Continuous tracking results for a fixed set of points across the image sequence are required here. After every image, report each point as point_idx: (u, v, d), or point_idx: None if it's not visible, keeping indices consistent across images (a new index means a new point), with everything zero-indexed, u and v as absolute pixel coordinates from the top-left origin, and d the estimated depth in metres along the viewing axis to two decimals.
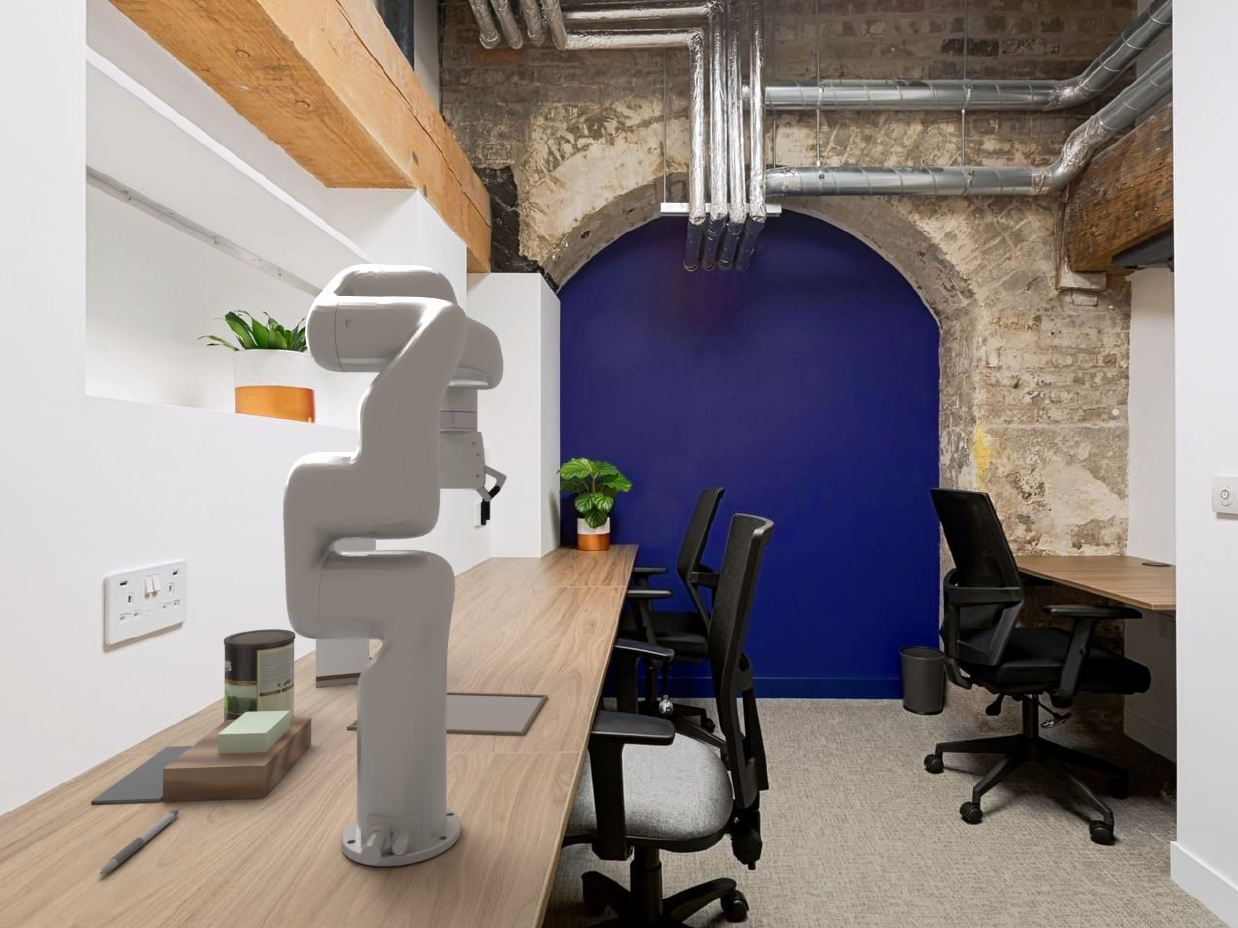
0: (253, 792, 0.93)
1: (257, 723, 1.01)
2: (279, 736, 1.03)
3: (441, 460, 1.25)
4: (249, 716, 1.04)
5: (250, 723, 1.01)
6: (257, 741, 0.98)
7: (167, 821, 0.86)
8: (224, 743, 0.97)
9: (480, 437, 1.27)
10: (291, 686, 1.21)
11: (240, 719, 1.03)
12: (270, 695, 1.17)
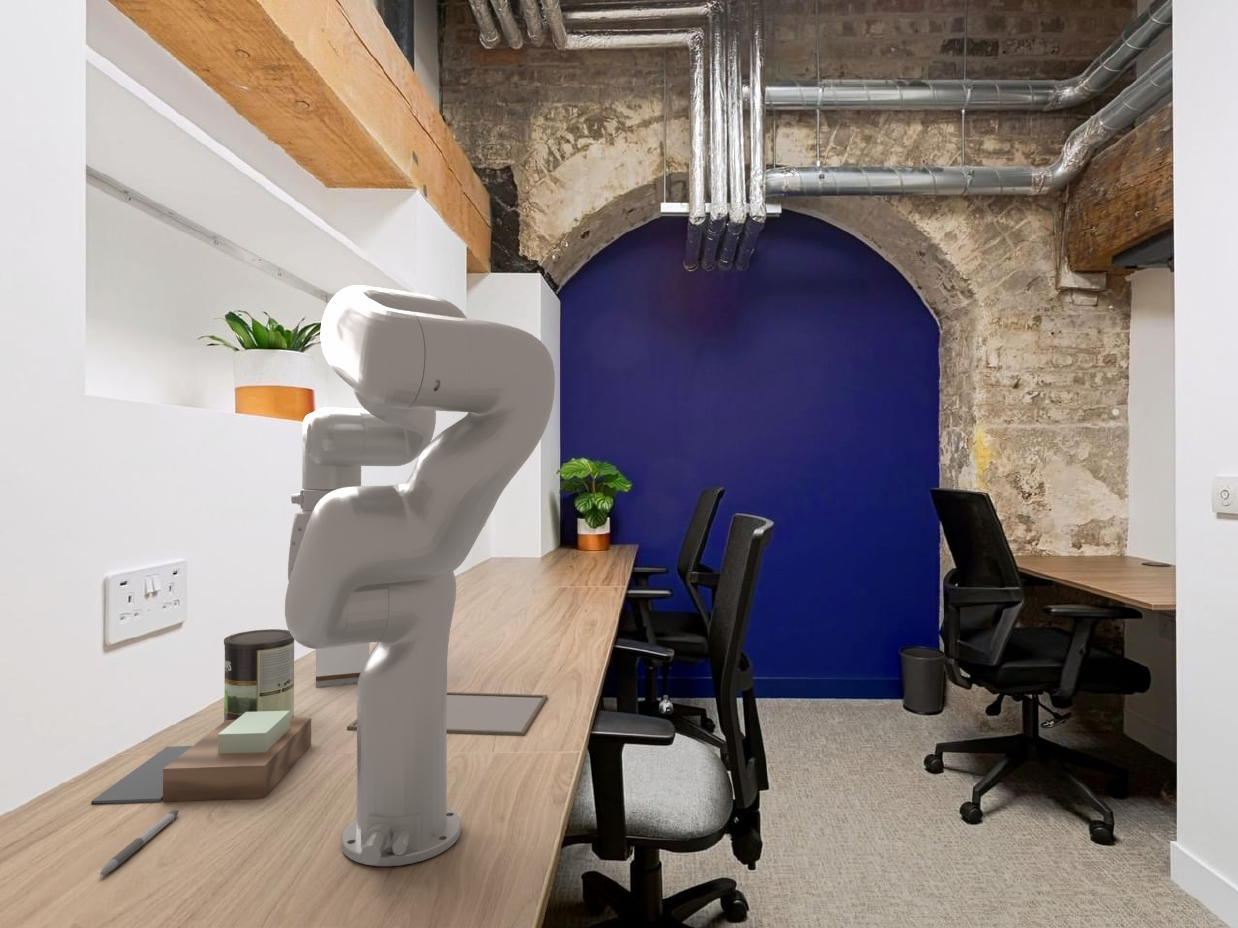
0: (253, 792, 0.93)
1: (257, 723, 1.01)
2: (279, 736, 1.03)
3: None
4: (249, 716, 1.04)
5: (250, 723, 1.01)
6: (257, 741, 0.98)
7: (167, 821, 0.86)
8: (224, 743, 0.97)
9: None
10: (291, 686, 1.21)
11: (240, 719, 1.03)
12: (270, 695, 1.17)
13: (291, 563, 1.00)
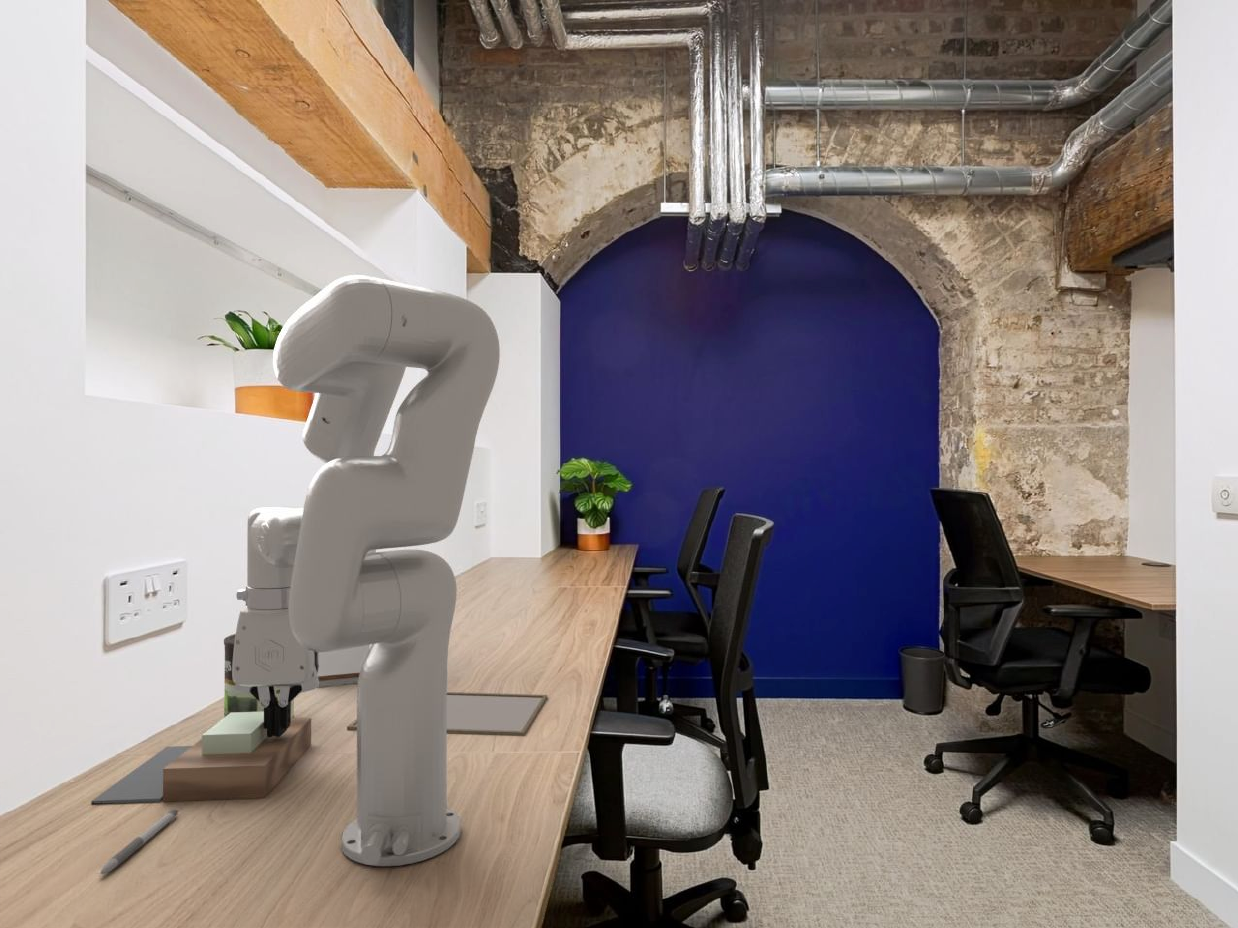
0: (253, 792, 0.93)
1: (242, 724, 1.01)
2: (264, 736, 1.03)
3: (255, 649, 0.99)
4: (234, 716, 1.04)
5: (235, 724, 1.01)
6: (242, 742, 0.97)
7: (166, 821, 0.86)
8: (208, 744, 0.97)
9: None
10: None
11: (225, 720, 1.03)
12: None
13: (235, 662, 0.99)
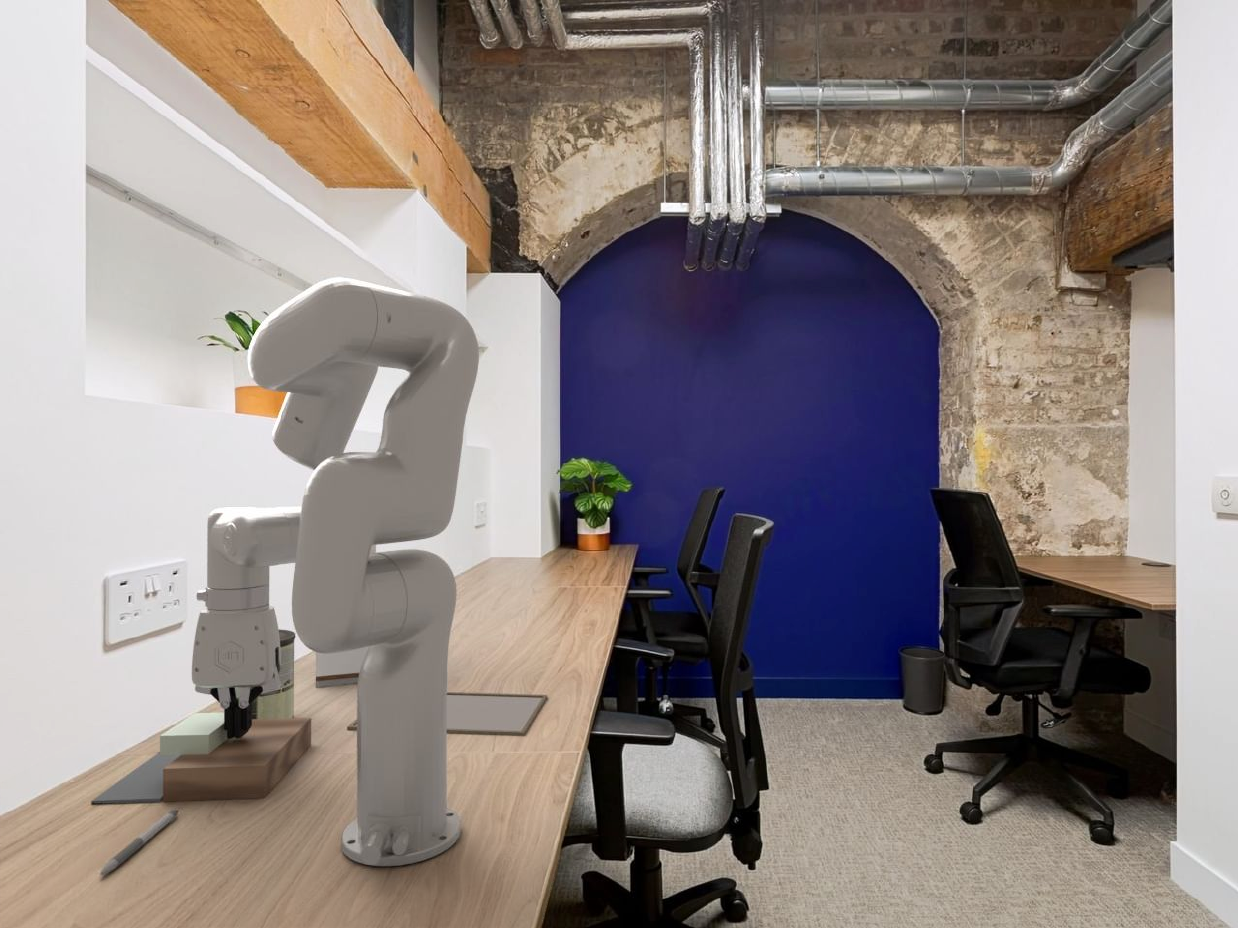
0: (253, 792, 0.93)
1: (202, 725, 1.01)
2: (225, 737, 1.02)
3: (214, 650, 0.99)
4: (197, 717, 1.04)
5: (195, 725, 1.01)
6: (199, 743, 0.97)
7: (166, 821, 0.86)
8: (166, 745, 0.97)
9: (267, 618, 1.01)
10: (291, 686, 1.21)
11: (186, 720, 1.02)
12: (270, 695, 1.17)
13: (195, 663, 0.99)
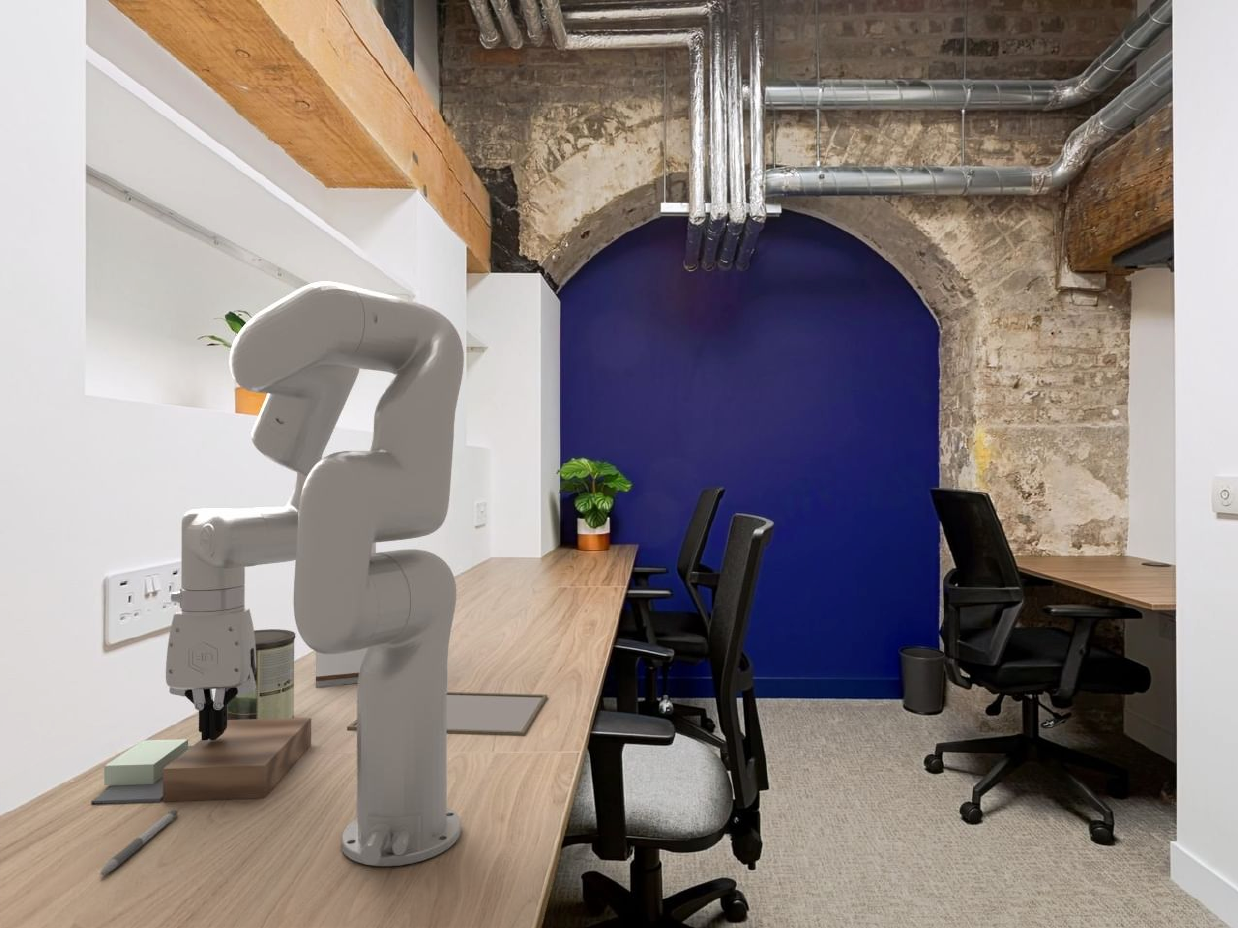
0: (253, 792, 0.93)
1: None
2: None
3: (189, 651, 0.99)
4: None
5: None
6: (113, 776, 0.96)
7: (166, 821, 0.86)
8: (146, 774, 0.97)
9: (242, 619, 1.00)
10: (291, 686, 1.21)
11: None
12: (270, 695, 1.17)
13: (169, 665, 0.99)
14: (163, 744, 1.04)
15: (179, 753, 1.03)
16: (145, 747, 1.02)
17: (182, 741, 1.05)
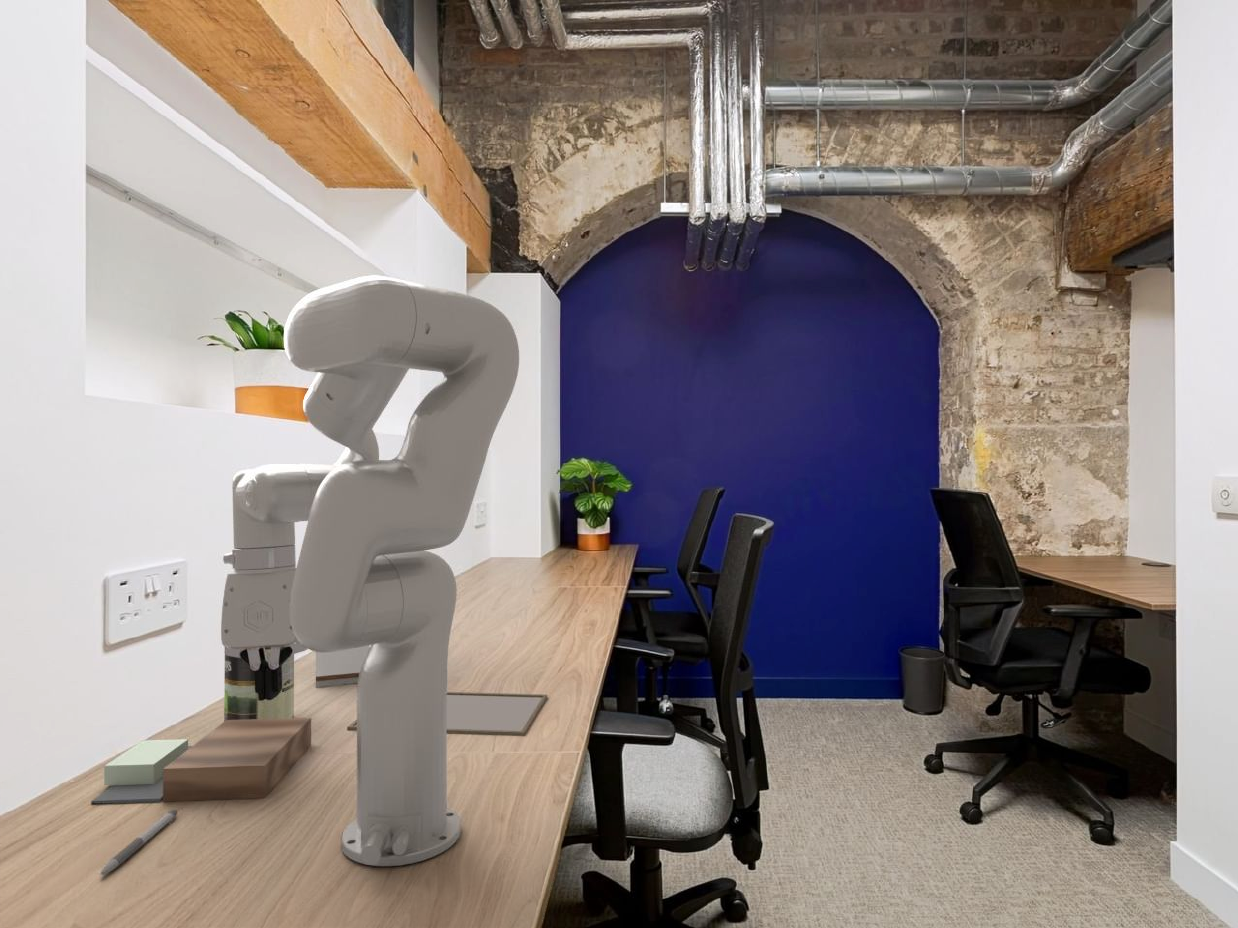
0: (253, 792, 0.93)
1: None
2: None
3: (243, 610, 0.99)
4: None
5: None
6: (113, 776, 0.96)
7: (166, 821, 0.86)
8: (146, 774, 0.97)
9: None
10: (291, 686, 1.21)
11: None
12: None
13: (224, 624, 0.99)
14: (163, 744, 1.04)
15: (179, 753, 1.03)
16: (145, 747, 1.02)
17: (182, 741, 1.05)
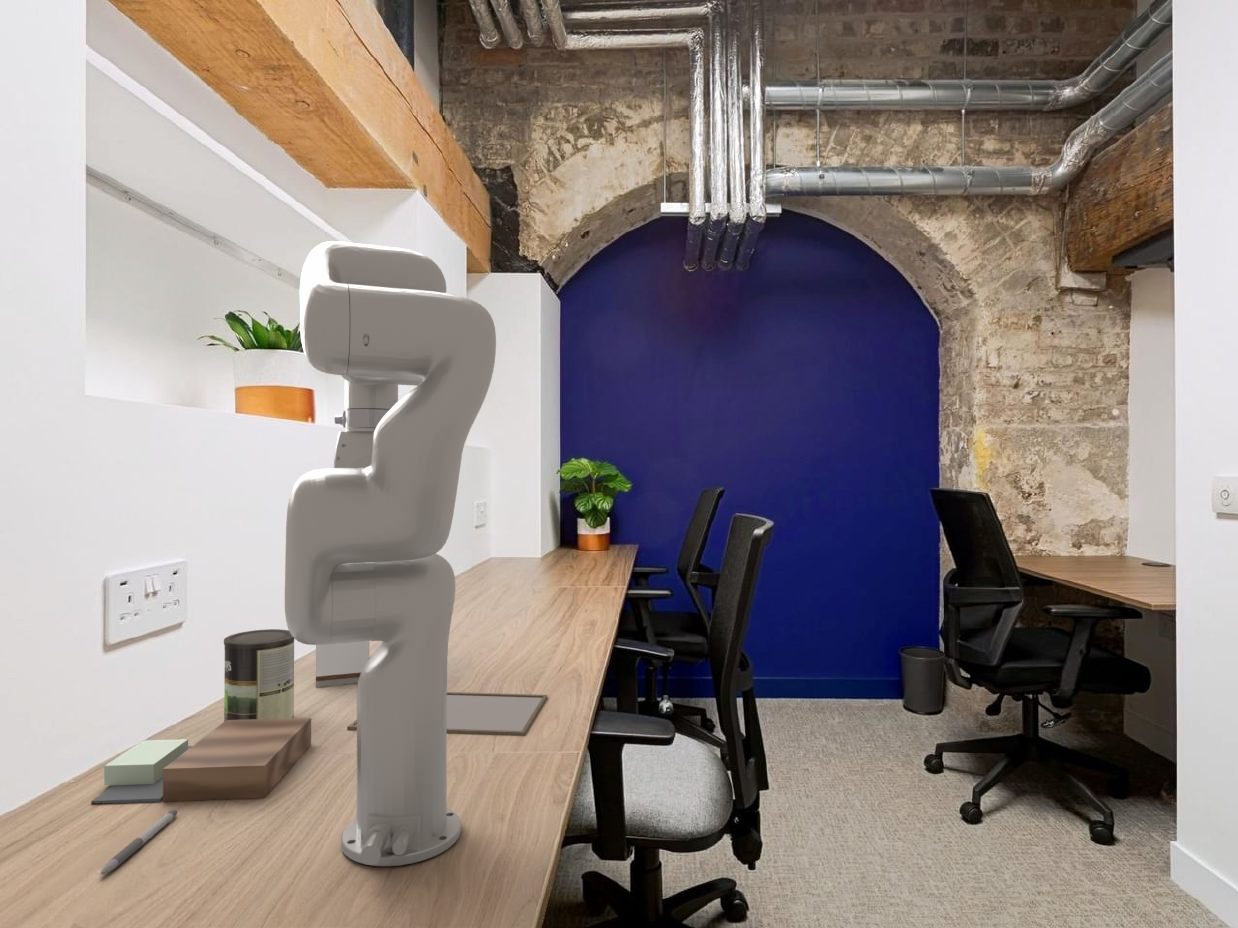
0: (253, 792, 0.93)
1: None
2: None
3: (354, 464, 1.09)
4: None
5: None
6: (113, 776, 0.96)
7: (166, 821, 0.86)
8: (146, 774, 0.97)
9: None
10: (291, 686, 1.21)
11: None
12: (270, 695, 1.17)
13: None
14: (163, 744, 1.04)
15: (179, 753, 1.03)
16: (145, 747, 1.02)
17: (182, 741, 1.05)
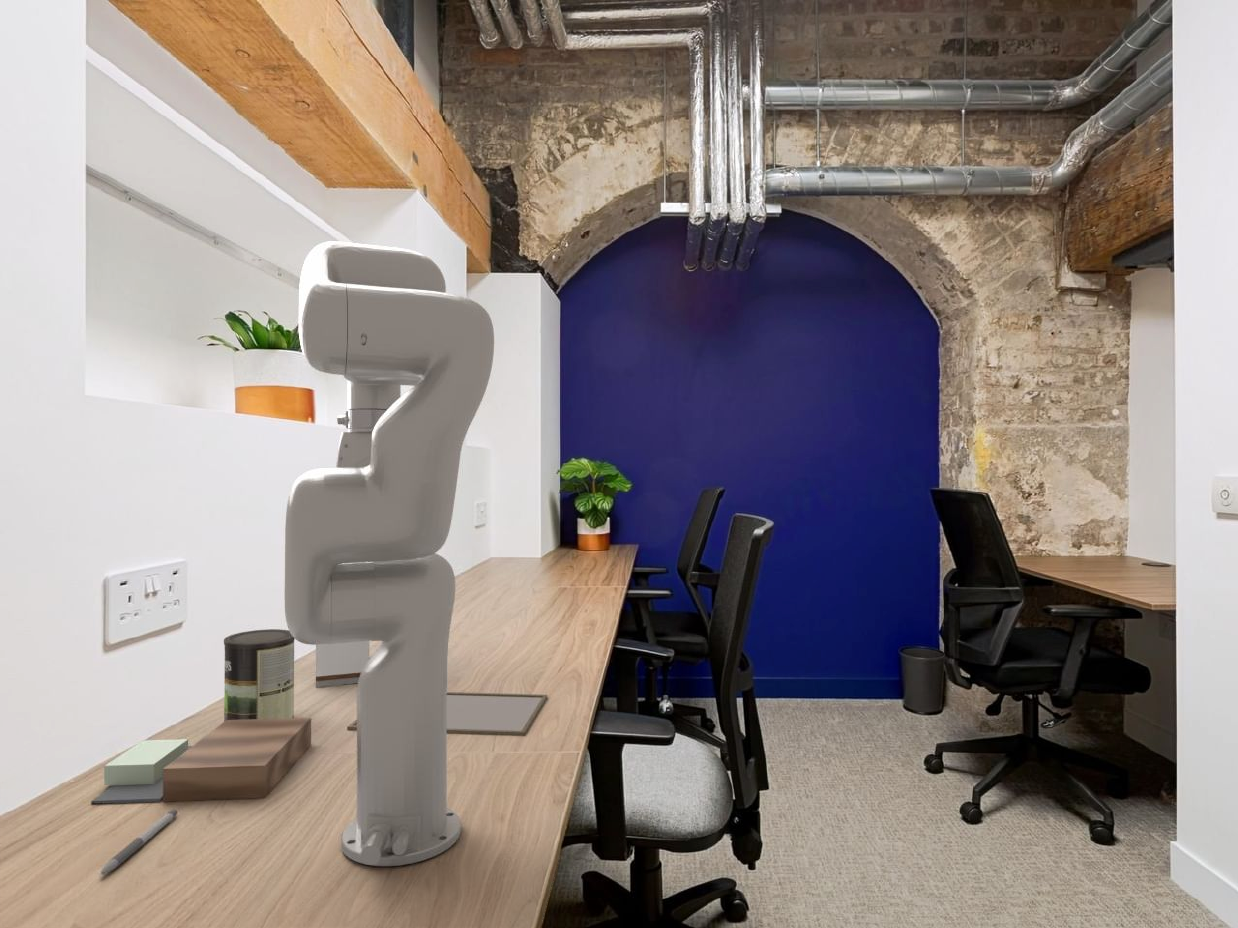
0: (253, 792, 0.93)
1: None
2: None
3: (356, 465, 1.09)
4: None
5: None
6: (113, 776, 0.96)
7: (166, 821, 0.86)
8: (146, 774, 0.97)
9: None
10: (291, 686, 1.21)
11: None
12: (270, 695, 1.17)
13: None
14: (163, 744, 1.04)
15: (179, 753, 1.03)
16: (145, 747, 1.02)
17: (182, 741, 1.05)
